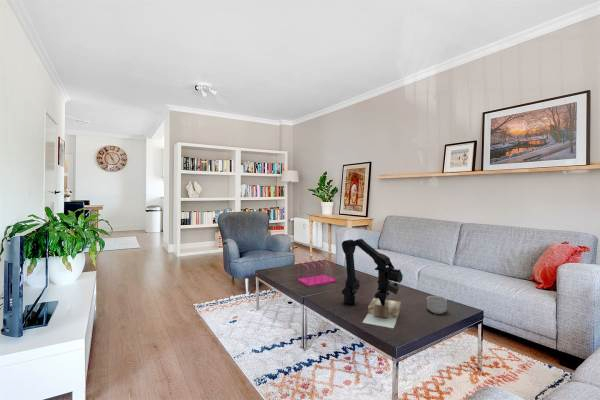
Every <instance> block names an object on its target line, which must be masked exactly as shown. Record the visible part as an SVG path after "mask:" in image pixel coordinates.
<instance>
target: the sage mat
mask: <svg viewBox="0 0 600 400" xmlns="http://www.w3.org/2000/svg"><path fill="white" fill-rule="evenodd" d="M397 320H398V318H392V317H388V318H384V317H379V316H374V314H368V313H367V314H366V316H365V318H364V319H363V321H362V324H367V325H372V326H377V327H384V328H388V329H394V328H395V326H396V323H397Z"/></svg>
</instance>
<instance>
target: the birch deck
mask: <svg viewBox="0 0 600 400" xmlns="http://www.w3.org/2000/svg"><path fill="white" fill-rule="evenodd" d="M375 305H382V304H381V302H380V300H379V298H375V297H373V298H372V300H371V301H370V303H369V305H368V306H367V314H374V309H375ZM384 306H388V317H392V318H397V319H398V318H399V315H400V312H401V310H402V302H401V301H397V300H391V299H386V301H385V305H384Z"/></svg>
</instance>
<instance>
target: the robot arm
mask: <svg viewBox="0 0 600 400" xmlns="http://www.w3.org/2000/svg"><path fill="white" fill-rule="evenodd" d="M356 247H359V249H361V250H362V251H364V253H365V254H367V255H368V256H369V257H370V258H371V259H372V260H373V262H374V263H375V265H376V267H375V268H374V270H375V271H377V274H378V275H377V279H378V280H377V285H378V286H377V291H375V293H374V298H377V299H379V300H380V302H381V304H382V306H384V305H385V301H386V300H388V297H389V295H390V292H391V293H393V294H394V295H397V294H398V293H399V290H400V286H399V283H400V284H401V283H402V281H403V277H404V276H403V273H402V272H401V269H398V268H397V269H395V267H394V265H393V263H392V262H391V258H390V257H389V256H387V255H386V254H384V253H381V252H378V251H377V250H376V249H375V248H374V247H372V246H371V245H370V244H368V243H367V242H366V241H365V240H364V239H363V238H358V239H355V240H353V239H346V240H343V241H341V249H342V252H343V253H344V254H345V255H344V256H345V265H346V280H345V284H344V285H345V286H344V288H343V289H342V290H341V294H342V295H343V302H342V304H343V305H345V306H351V307H353V306H355V304H356V303H357V297H356V294H357V292H358V291H359V289H360V287H361V285H360V280H358V279H357V278H356V269H355V267H356V266H355V259H354V256H355V255H354V254H355V252H356ZM391 282H393V283H391Z"/></svg>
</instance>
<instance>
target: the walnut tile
mask: <svg viewBox="0 0 600 400" xmlns="http://www.w3.org/2000/svg"><path fill="white" fill-rule="evenodd" d="M374 316H379V317H384V318H388V306H382V305H375V309H374Z"/></svg>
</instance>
